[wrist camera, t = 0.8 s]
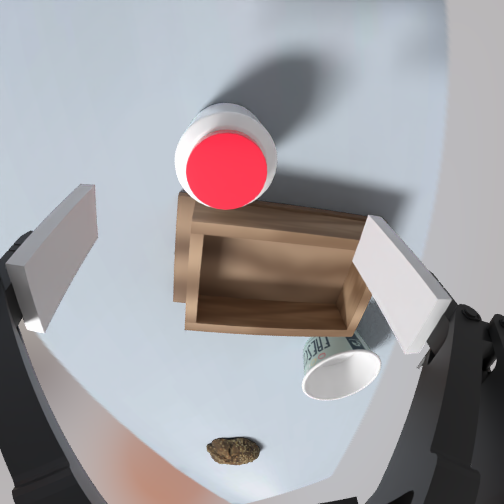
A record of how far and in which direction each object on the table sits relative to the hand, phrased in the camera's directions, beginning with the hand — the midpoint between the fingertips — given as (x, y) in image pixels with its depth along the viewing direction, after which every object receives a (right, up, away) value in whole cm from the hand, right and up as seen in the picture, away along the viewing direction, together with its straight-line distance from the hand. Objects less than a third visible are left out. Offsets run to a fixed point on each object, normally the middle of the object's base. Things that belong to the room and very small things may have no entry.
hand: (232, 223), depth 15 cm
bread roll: (-4, -47, +51) cm, 69 cm away
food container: (+13, -16, +33) cm, 39 cm away
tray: (+4, -2, +23) cm, 24 cm away
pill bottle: (-2, +10, +16) cm, 19 cm away
